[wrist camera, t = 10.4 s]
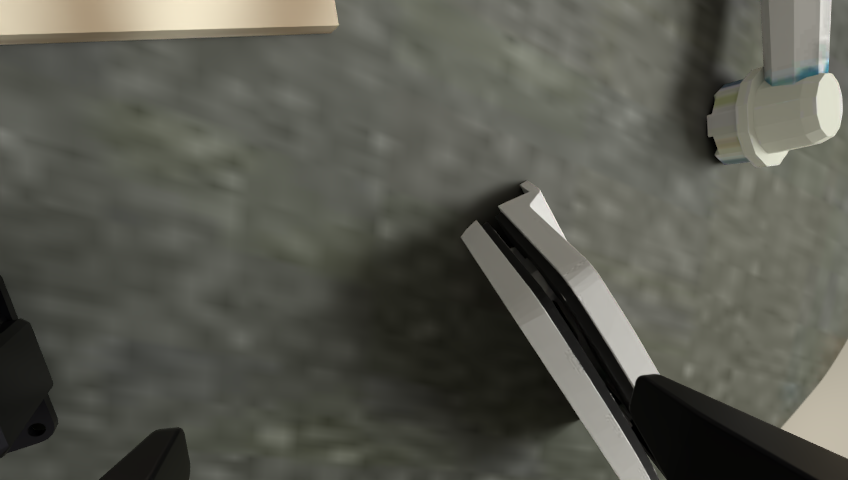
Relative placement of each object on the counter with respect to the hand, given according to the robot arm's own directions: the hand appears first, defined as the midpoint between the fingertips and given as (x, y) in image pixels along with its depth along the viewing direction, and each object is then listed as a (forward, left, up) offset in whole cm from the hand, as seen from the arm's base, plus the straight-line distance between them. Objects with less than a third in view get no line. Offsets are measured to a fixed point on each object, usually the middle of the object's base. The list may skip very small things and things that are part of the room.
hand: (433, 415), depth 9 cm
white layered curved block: (+13, -7, -13) cm, 19 cm away
